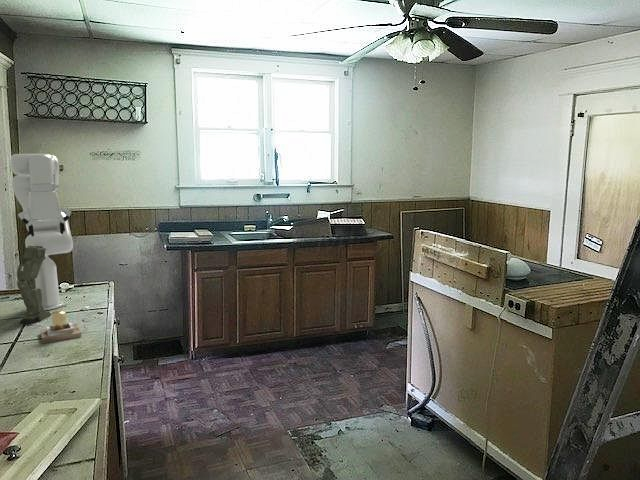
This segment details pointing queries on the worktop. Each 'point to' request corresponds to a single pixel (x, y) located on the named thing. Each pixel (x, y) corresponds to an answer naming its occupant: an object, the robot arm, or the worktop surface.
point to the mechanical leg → (31, 284)
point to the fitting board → (60, 333)
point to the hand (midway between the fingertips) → (47, 234)
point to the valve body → (59, 320)
